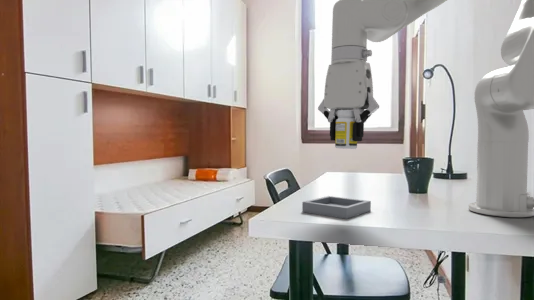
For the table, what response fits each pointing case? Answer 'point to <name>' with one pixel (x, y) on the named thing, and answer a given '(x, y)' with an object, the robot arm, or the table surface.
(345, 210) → the tray
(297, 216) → the table surface
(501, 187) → the robot arm
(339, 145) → the supplement bottle
